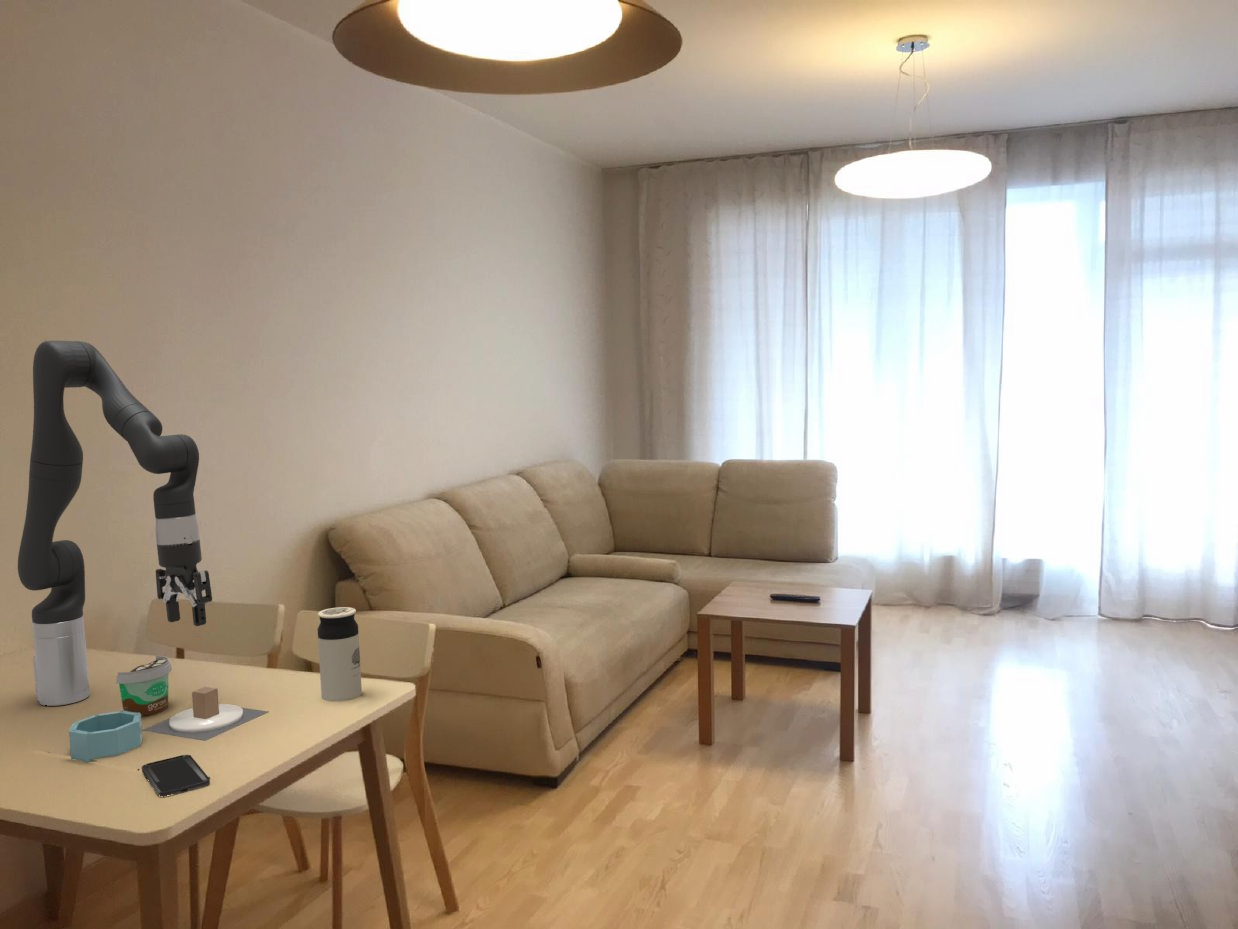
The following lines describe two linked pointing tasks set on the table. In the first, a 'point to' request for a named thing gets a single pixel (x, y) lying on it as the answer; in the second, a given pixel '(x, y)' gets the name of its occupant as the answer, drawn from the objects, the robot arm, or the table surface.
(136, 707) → the food container
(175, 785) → the phone
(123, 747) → the bowl
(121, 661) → the table surface
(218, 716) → the lid
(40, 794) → the table surface
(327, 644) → the travel mug
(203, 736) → the mat
